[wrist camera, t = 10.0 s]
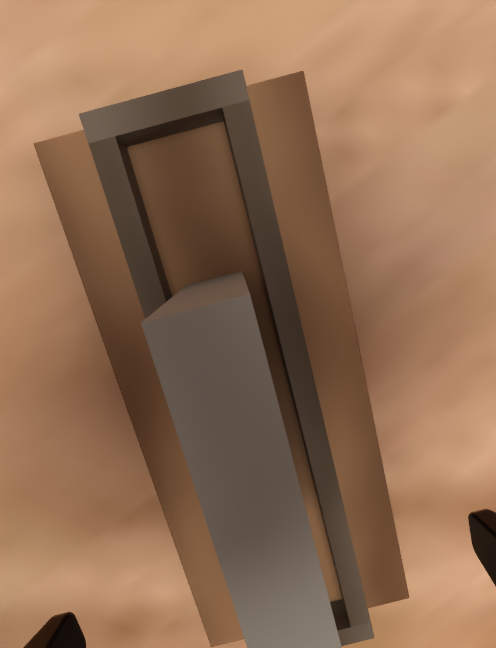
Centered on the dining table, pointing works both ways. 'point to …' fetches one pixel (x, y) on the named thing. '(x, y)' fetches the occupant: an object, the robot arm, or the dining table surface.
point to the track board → (267, 298)
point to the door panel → (241, 462)
